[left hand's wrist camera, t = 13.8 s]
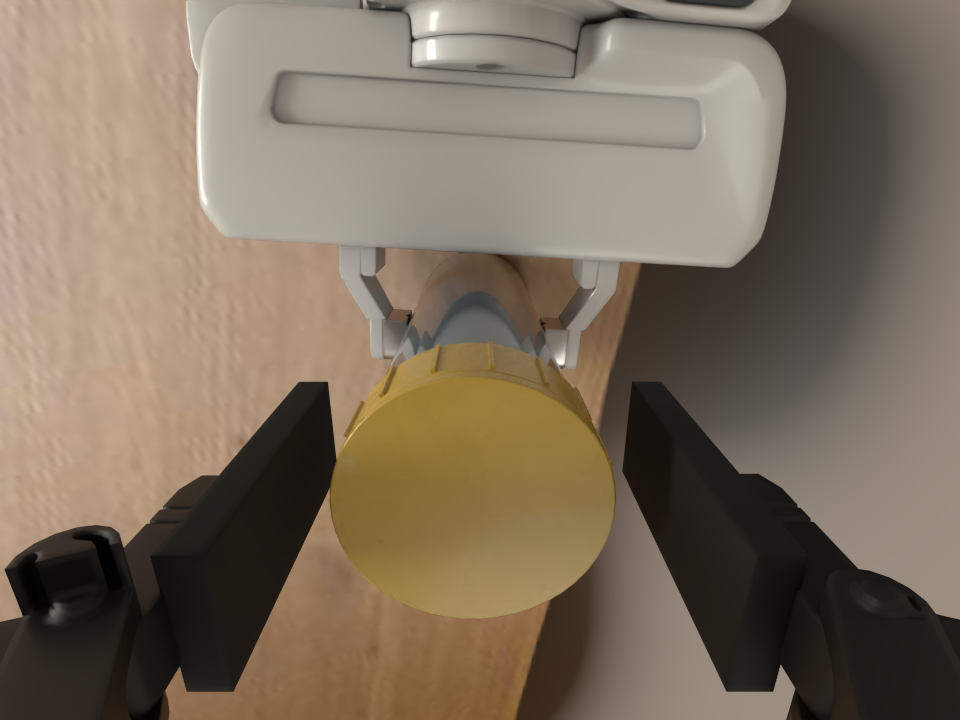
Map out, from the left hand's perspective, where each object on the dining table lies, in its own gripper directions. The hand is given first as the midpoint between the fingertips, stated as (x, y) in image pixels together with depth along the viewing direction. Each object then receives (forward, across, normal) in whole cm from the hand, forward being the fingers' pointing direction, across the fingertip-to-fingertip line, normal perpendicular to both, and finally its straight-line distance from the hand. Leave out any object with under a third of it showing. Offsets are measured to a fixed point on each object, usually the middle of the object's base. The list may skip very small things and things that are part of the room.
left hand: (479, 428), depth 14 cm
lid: (-3, 0, 0) cm, 3 cm away
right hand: (+8, 0, -1) cm, 8 cm away
